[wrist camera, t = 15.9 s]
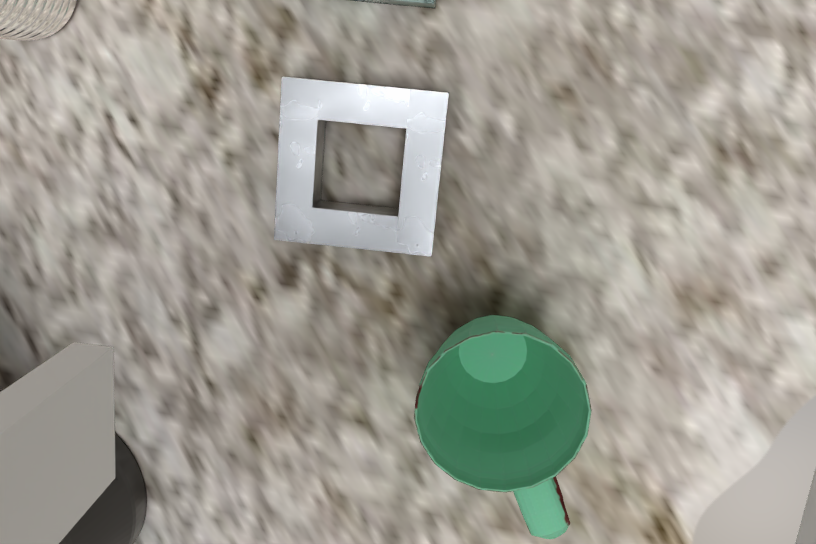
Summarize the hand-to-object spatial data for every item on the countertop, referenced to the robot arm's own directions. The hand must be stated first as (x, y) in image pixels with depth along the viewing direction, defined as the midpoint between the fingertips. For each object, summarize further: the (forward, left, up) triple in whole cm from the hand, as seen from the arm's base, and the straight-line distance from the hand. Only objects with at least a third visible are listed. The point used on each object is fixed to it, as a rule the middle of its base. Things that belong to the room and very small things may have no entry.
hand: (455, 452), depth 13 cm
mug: (+5, -13, -35) cm, 38 cm away
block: (-6, +1, -35) cm, 35 cm away
